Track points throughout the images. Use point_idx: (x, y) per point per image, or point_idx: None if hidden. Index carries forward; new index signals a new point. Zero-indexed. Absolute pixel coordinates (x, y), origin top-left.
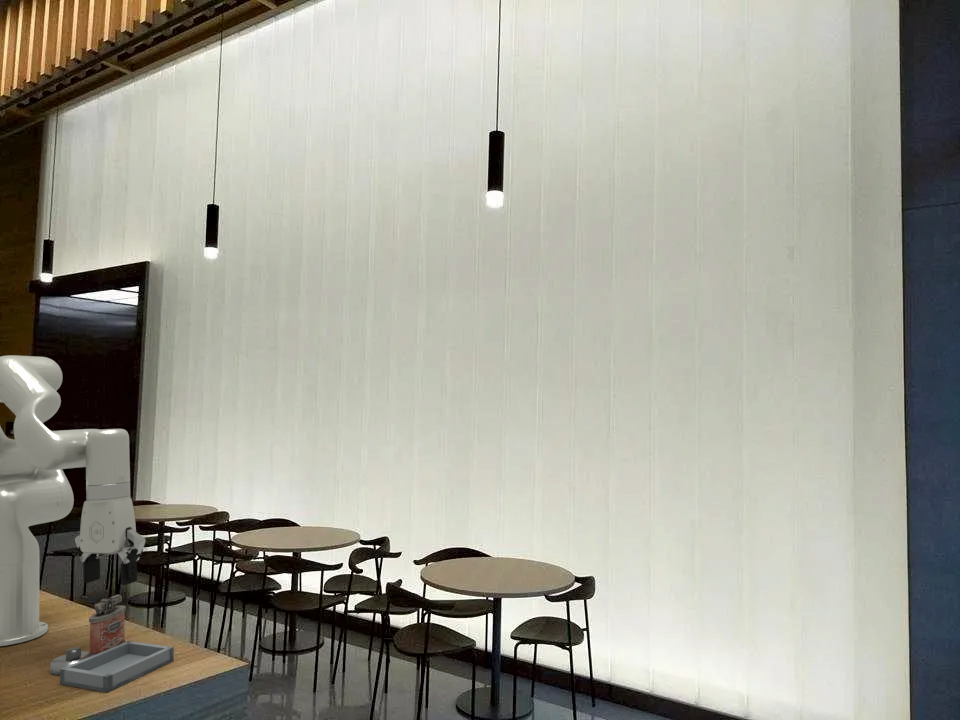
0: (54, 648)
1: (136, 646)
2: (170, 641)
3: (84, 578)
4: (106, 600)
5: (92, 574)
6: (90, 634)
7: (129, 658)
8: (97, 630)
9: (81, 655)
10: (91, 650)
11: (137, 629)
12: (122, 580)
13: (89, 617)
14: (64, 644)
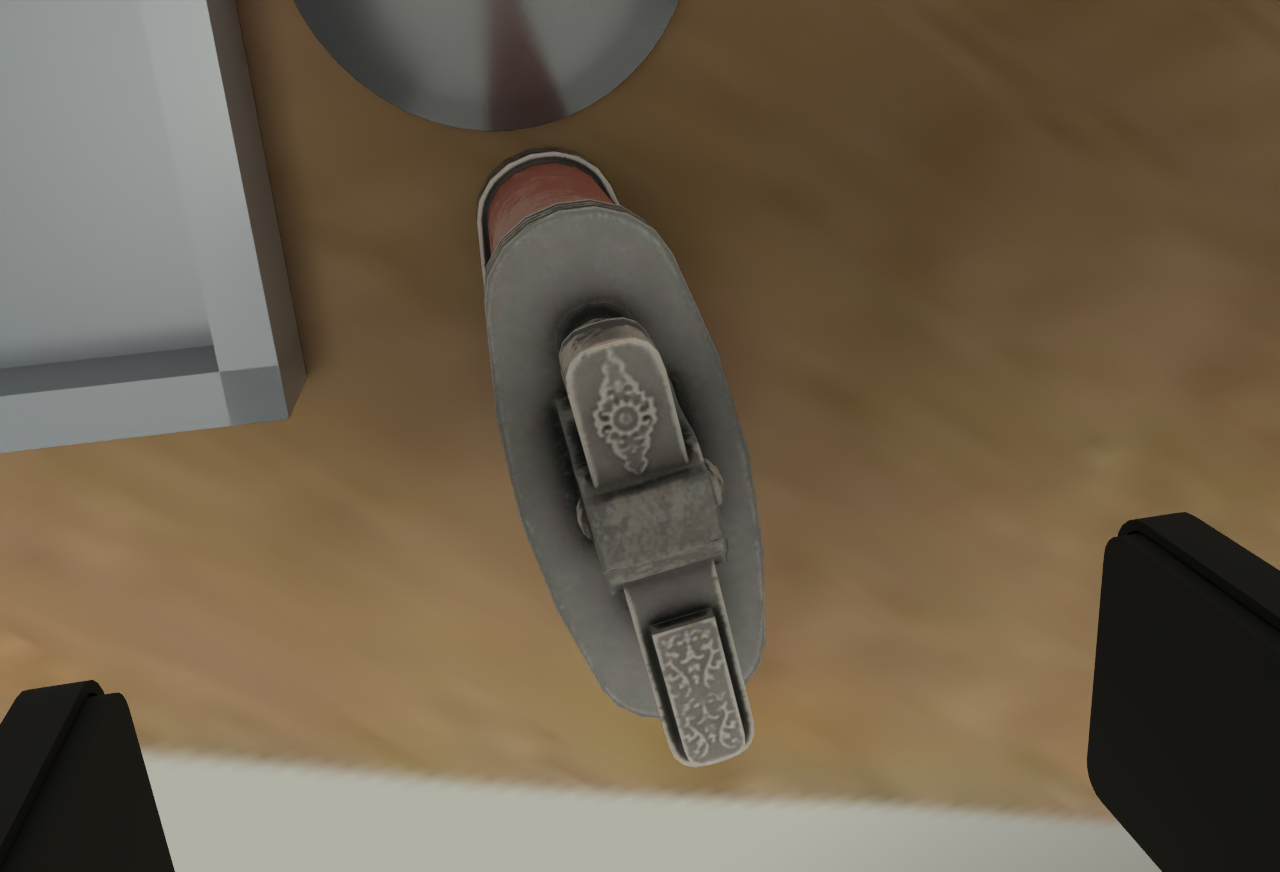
0: (1135, 192)
1: (108, 379)
2: (271, 726)
3: (1202, 542)
4: (616, 515)
5: (1174, 713)
6: (587, 191)
7: (90, 260)
8: (505, 233)
9: (496, 15)
10: (548, 165)
11: (827, 769)
12: (13, 737)
13: (650, 234)
14: (1132, 294)
